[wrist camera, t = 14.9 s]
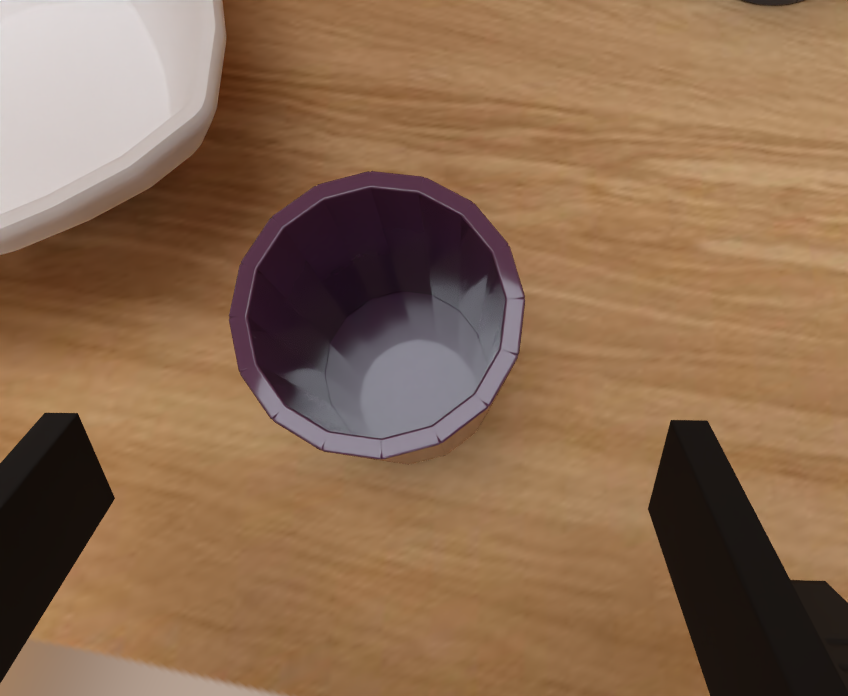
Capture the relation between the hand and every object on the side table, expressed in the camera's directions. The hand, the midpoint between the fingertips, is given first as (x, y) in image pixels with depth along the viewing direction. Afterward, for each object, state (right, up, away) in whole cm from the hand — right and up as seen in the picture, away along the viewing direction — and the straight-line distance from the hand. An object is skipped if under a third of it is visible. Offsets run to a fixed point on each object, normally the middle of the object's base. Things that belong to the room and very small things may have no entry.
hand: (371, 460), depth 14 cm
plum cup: (0, +2, +11) cm, 11 cm away
